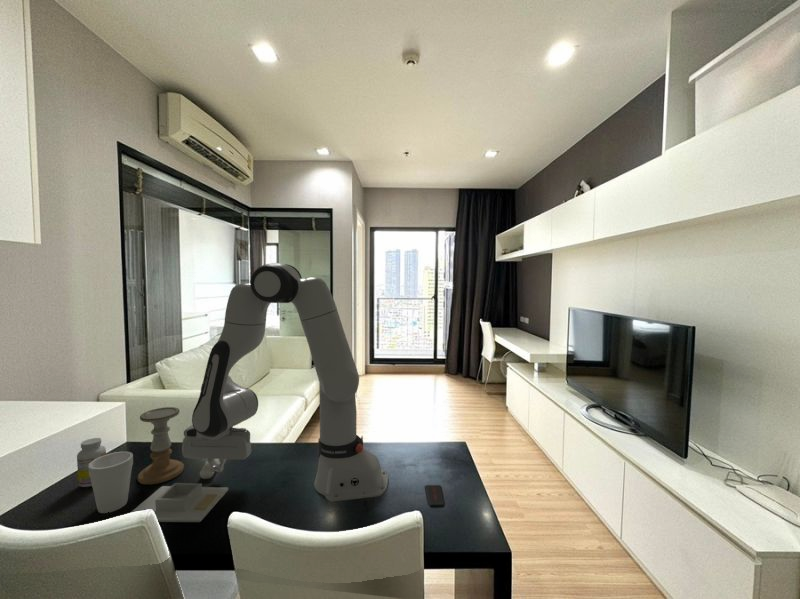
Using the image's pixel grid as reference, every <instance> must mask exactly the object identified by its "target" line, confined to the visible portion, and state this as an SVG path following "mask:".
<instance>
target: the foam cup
mask: <svg viewBox="0 0 800 599" xmlns="http://www.w3.org/2000/svg"><path fill="white" fill-rule="evenodd" d="M133 465H134V454H133V453H132V452H130V451H118V452H116V451H114V452H110V453H108V454H107V453H106V455H104V456H101V457H99V458H97V459H95V460H93V461H92V462H91V463H89V476H90V478H91V483H92V486H91V487H92V492H93V496H94V500H95V504H96V505H95V506H96V509H97V512H98V513H100V514H108V512H109V513H113V512H115V511H117V510H120V509H121V508H123V507H125V506H126V504H128V499H129V492H130V484H131V476H132V468H133Z"/></svg>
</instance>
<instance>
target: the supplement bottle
mask: <svg viewBox="0 0 800 599" xmlns="http://www.w3.org/2000/svg"><path fill="white" fill-rule="evenodd" d="M80 449H81V450H80V451H79V452H78V453H77V455H76V464H77V465H76V467H77V481H78V482H77V484H78V486H79V487H81V488H89V487H92V483H91V478H90V476H89V463H91V462H92V461H93V460H95V459H97V458H99V457H101V456H104V455H107V451H106V450H107V447H105V445H102V438H100V437H93V438H89V439H86V440H83V441H82V442H81V443H80Z"/></svg>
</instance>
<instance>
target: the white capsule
mask: <svg viewBox="0 0 800 599" xmlns="http://www.w3.org/2000/svg"><path fill="white" fill-rule="evenodd" d="M214 460H215V462H216V464H220V463H221V462H219V459H214ZM215 473H216V472H212V471H211V466H210V465H209V463H208V462H207V461H206V462H205V463H204V465H203V466H202V468H201V470H200V471H199V477H200V478H201V479H203V480H208V479H211V478H212V477H213V476H214V474H215Z"/></svg>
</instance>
